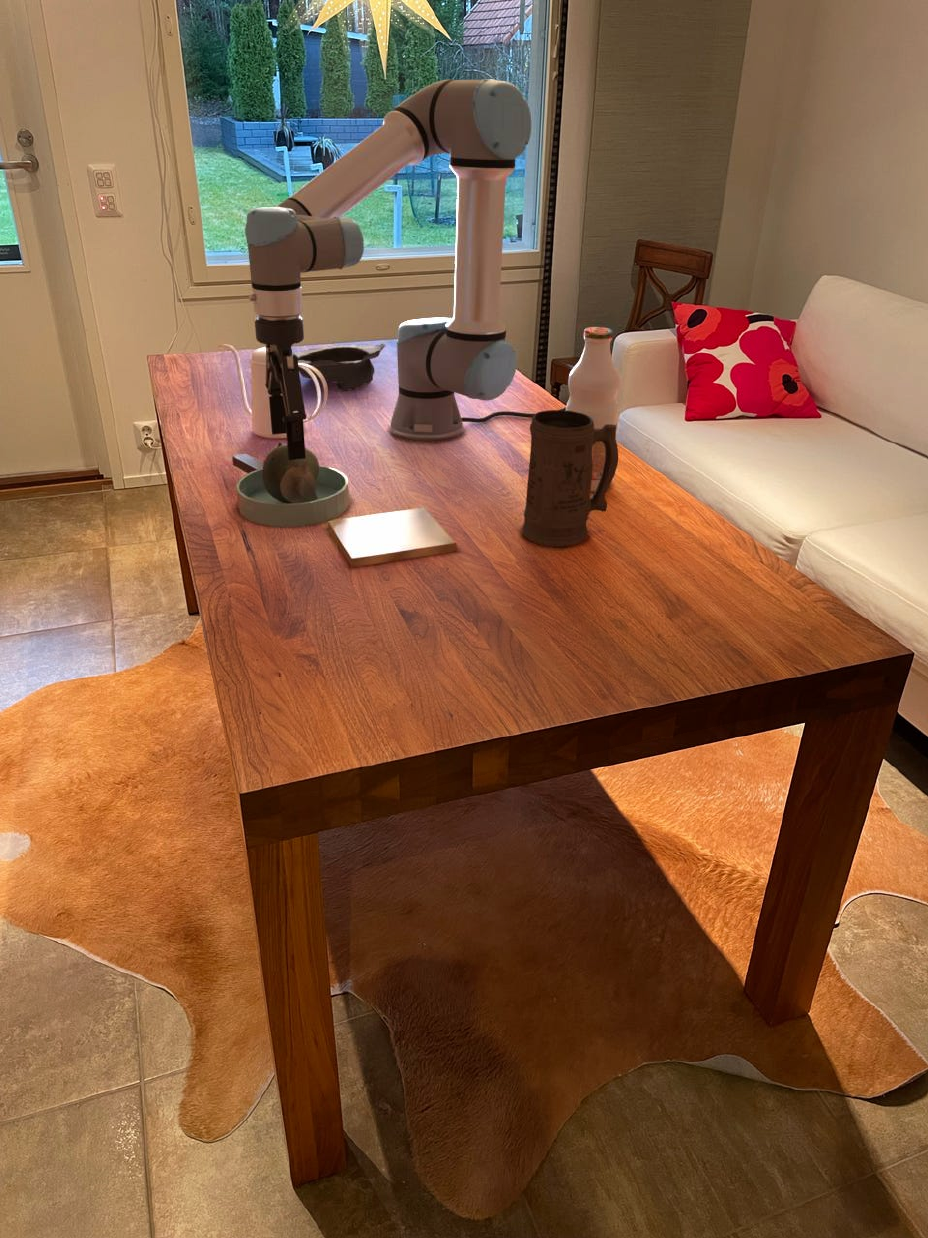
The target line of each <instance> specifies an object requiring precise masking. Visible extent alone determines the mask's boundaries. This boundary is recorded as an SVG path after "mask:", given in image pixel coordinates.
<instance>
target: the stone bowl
mask: <svg viewBox="0 0 928 1238" xmlns="http://www.w3.org/2000/svg"><path fill="white" fill-rule="evenodd" d="M385 347H386V344H384V343H381V344H376V345H375V346H372V345H370V344H369V345H368V344H366V345H365V344H364V345H361V344H348V345H347V344H346V345H345V344H344V345H330V346H322V347H320V346H319V347H315V348H310V349H307V350H302V351H297V352H292V353H293V354H295V355H297V357H298V363H303V364H308V365H310V366H313V367H315V368H316V369H317V370H319V372H320V373H321V374H322V375H323V377H324V379H325V381H326V382H328V383H336V387H337V389H338V390H339V391H342V392H347V391H350V390H351V391H353V390H356V389H359V388H363V387H364V386H365V385H368V384H370V383H371V382H372V381H373V380H374V374H375V372H376V371H375V366H374V364H373V362H372V360H373V359H376V358H378V357H379V356H380V354H381V352H382V351H383V349H384V348H385ZM310 370H311V369H310ZM311 371H312V372H313V373H314V375H315V376H316V378H317V380H318V381H321V379H320V378H319V376H318V375H317V374H316V373H315V372H314V371H313V370H311ZM299 375H300V376H302V377H303V378H305V379H309V380H313V379H312V377H311V376H310V375H309V374H308V372H306V371H305V370H304V369H302V368H301V367H299Z"/></svg>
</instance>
